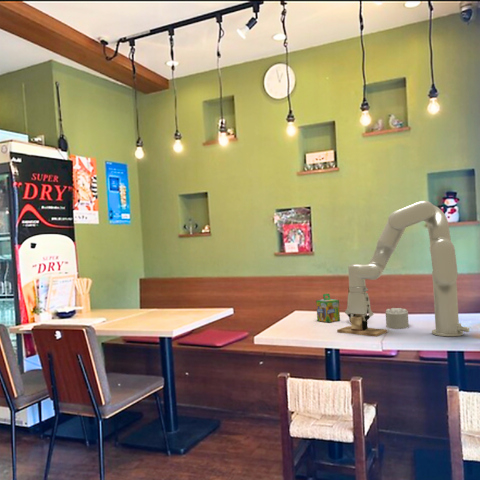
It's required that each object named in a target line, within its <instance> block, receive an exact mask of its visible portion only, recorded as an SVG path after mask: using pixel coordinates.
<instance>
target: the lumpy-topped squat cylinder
mask: <svg viewBox="0 0 480 480" xmlns="http://www.w3.org/2000/svg"><path fill="white" fill-rule="evenodd" d="M385 324H386V325H385V326H386V327H387V328H388V329H394V330H401V329H408V328H409V311H408V310H407V309H406V308H401V307H397V308H396V307H392V308H386V310H385ZM407 327H408V328H407Z"/></svg>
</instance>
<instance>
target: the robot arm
mask: <svg viewBox="0 0 480 480" xmlns="http://www.w3.org/2000/svg"><path fill="white" fill-rule="evenodd" d="M421 222H425V224H426V226H427V231H428V237H429V252H430V259H431V267H432V273H431V274H432V275H431V276H432V277H431V278H432V287H433V305H434V309H433V310H434V323H435V324H434V325H435V328H434V329H432V330H431V334H433V335H435V336H440V337H460V336H463V335H464V332H466V333H469V332H470V327H468V326H462V323H461V322H459V321H460V320H459V318H460V317H459V302H458V287H457V280H458V275H459V274H458V273H459V272H458V265H457V256H456V255H457V254H456V250H455V245H454V244H453V242H452V240H451V233H450V232H451V231H450V225H449V221H448V219H447V217H446V214H445V212H443V210H442V209H440V208H439V207H438V206H436V205H434V204H433V203H432V202H430V201H428V200H420V201H417V202H414V203H413V204H410V205H407V206H404V207H403V208H400V209H397V210H394V211H392V212H391V213H390V214H389V216H388V218H387V222H386V224H385V226H384V227H383V230H382V232H381V234H380V236H379V238H378V239H377V242H376V248H375V250H374V252H373V254H372V256H371V259H370V260H369V262H368V263H367V264H361V263H353V264H349V265H348V271H347V272H348V287H349V290H350V293H349V294H347V308H346V309H345V311H344V313H345V315H346V316H347V317H348V319H349V318H350V320H351V317H353V316H356V314H359V315H362V318H363V321H362V328H363V330H365V329H367V327H368V326H369V325H368V321H369V319H370V318H372V317H373V316H374V312H373V310H372V309H371V301H370V296H369V294H368V291H369V288H368V287H367V285H366V280H372V281H373V280H374V281H375V280H377V279H379V278H380V277H381V276H382V274H383V272H384V270H385V268H386V267H387V265H388V262H389V261H390V258H391V257H392V254H394V252H395V250H396V249H397V247H398V246H397V245H398V244H399V243H400V240H401V238H402V236H403V235H404V232H405V230H406V228H409V227H411V226H413V225H416V224H419V223H421ZM350 320H349V321H350ZM368 328H369V327H368Z"/></svg>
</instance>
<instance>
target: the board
mask: <svg viewBox="0 0 480 480" xmlns="http://www.w3.org/2000/svg"><path fill="white" fill-rule="evenodd" d="M336 333H340V334H341V333H342V334H350V335H361V336H367V337H378V336H381V335H384V334H386V333H388V329H384V328H375V327H373V328H372V327H368V328H367V329H365V330H362V331H353V330H351V325H347V326H344V327H341V328H337V330H336Z"/></svg>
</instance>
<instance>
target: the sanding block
mask: <svg viewBox="0 0 480 480" xmlns="http://www.w3.org/2000/svg"><path fill="white" fill-rule="evenodd" d="M362 321H363V318H362V315H356V316H353V317H351V322H350V326H351V330H353V331H362V330H363V328H362ZM367 328H369V327H367Z"/></svg>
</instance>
